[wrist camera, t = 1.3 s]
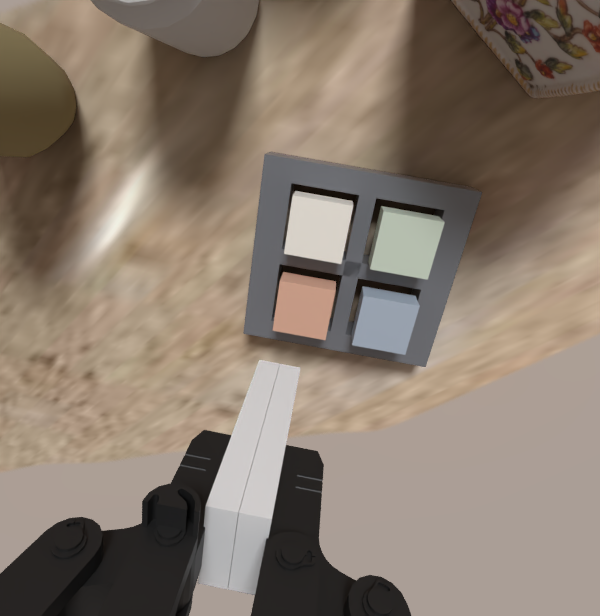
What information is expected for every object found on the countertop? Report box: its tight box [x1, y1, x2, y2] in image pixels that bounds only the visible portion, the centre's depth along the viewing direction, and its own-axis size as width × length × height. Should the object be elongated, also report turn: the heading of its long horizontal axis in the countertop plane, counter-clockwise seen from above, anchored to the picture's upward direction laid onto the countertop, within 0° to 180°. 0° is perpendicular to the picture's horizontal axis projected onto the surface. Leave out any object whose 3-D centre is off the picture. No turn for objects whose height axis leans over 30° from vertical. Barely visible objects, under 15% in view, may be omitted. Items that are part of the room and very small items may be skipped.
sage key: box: [368, 206, 445, 280], centre depth 30 cm, size 4×4×3 cm
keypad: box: [244, 152, 482, 367], centre depth 33 cm, size 15×14×3 cm
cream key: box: [284, 191, 353, 264], centre depth 30 cm, size 4×4×3 cm
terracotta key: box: [273, 272, 336, 340], centre depth 33 cm, size 4×4×3 cm
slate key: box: [351, 286, 420, 355], centre depth 32 cm, size 4×4×3 cm
